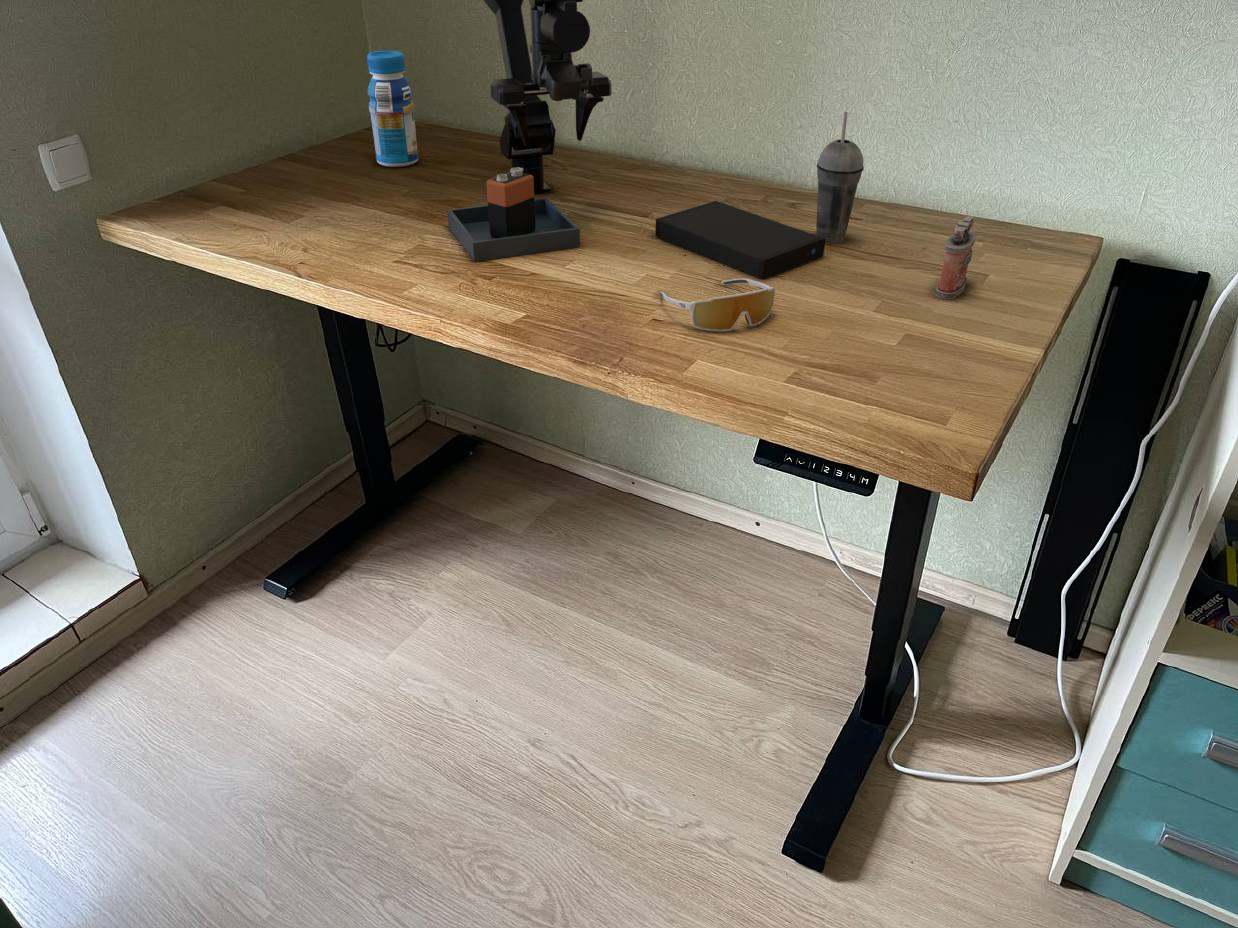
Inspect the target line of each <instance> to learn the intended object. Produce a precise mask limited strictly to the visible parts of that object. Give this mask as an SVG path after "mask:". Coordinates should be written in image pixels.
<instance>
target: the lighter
mask: <svg viewBox="0 0 1238 928" xmlns="http://www.w3.org/2000/svg"><path fill="white" fill-rule="evenodd" d="M974 222H975V218H974V216H971V215H967V216H966V217H965V218H964V219H963V220H958V221H957V224H956V226H955V228H954V233H952V234H951V235H950V236H949V237H948V238H947V240H946V242H945V247H944V250H945V253H944V257H943V264H942V268H941V273H940V278H939V282H938V283H937V286H936V290H935V296H936V297H938V298H941V299H946V300H952V299H955V298H956V297H957V296H959V295H960V294H962V293H963V291H964V289H965V288H966V283H967V278H968V277H967V273H968V269H969V268H968V267H969V264H970V262H971V261H972V256H973V246H975V243H976V240H977V239H976V238H977V233H976V232H975V231H972V230H971V229H972V228H973V227H974Z"/></svg>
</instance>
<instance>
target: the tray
mask: <svg viewBox="0 0 1238 928" xmlns="http://www.w3.org/2000/svg"><path fill="white" fill-rule="evenodd" d="M534 202H535V226H536V229H535V230H534V231H532V232H530V233H528V234H525V235H518V236H511V237H503V238H496V237H493V236H491V235H490V225H489V211H488V204H483V205H475V206H467V207H459V208H450V209H446V213H447V223H448V228H449V229H450V231H451V232H452V234H453V235H454V236H455V237H456V239H457V240H458V241H459V243H460V244H461V246H462V247H463V248H464V250H465V251H466V253H467V254H468V256H470V258H471V260H473V262H481V261H488V260H496V259H502V258H510V257H511V258H512V257H518V256H526V255H530V254H538V253H546V252H547V253H548V252H552V251H561V250H566V249H567V250H568V249H574V248H580V247H581V229H580V228H579V226H578V225H577V224H576V223H574V222H573V221H572V219H570V218H569V217H568V216H567V215H566V214H565V213H564V212H563V211H562V210H560V209H559V208H558V207H557V205H555V204H554V203H553V201H551V200H550V199H549V198H548V197H540V198H534Z"/></svg>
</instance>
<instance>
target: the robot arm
mask: <svg viewBox="0 0 1238 928" xmlns="http://www.w3.org/2000/svg"><path fill="white" fill-rule="evenodd" d="M583 1H584V0H528V3H529V5H530V9H529V10H530V30H531V31H530V33H531V35H530V36H531V45H529V44H528V39H527V34H526V33H527V32H526V28H525V23H524V22H525V21H524V15H523V10H522V6H523V3H524V0H483V2H484V3H485V5H486V6H487V7H488V8H489V10H491V12H492V13H493V14H494V15H495V21H496V25H497V32H498V37H499V43H500V48H501V54H502V60H503V65H504V66H503V67H504V70H505V78H498V79H493V80H492V82H491V84H490V98H491V99H492V100H493V101H495V102H496V103H497V104H499V105H500V106H503V107H504V108H505V109H506V112H505V115H504V125H503V128H502V132H501V135H500V139H499V147H500V148H499V149H500V152H501V155H503V156H504V157H505V158H506V159H507V160H508V161H509V160H511V168H517V167H519V168H523V172H522V173H525V174H530V175H532V176H533V178H534V193H541V192H549V191H550V192H551V186H549V185H548V184H547V183H546V182H545V177H544V176H545V175H544V156H553V155H554V151H555V140H556V132H557V129H556V127H555V124H554V122H553V120H552V119H551V116H550V107H549V103H548V102H547V101H546V100H542V99H541V98H540V97H539V96H542V95H548V96H549V98H550V99H551V100H552V101H553V102H561V101H563V100H564V101H565V100H573V101H575V133H576V139H577V141H582V140H583V137H584V134H585V131H586V128H587V125H588V122H589V119H590V117H591V115H592V112H593V111H594V110H593V109H594V108H595V107H596V106H597V105H598V104H599V103H603V102H604V100H605V97H611V96H612V82H611V79H610V78H609V77H608V76H607V75H605V74H603V73H602V72H600V71H593V67H592V65H591V63H589V62H588V63H587V62H586V63H578V64H574V62H573V59H572V58H573V57H572V55H573V54H572V53H576V52H579V51H580V50H583V48H584V47H585V46H586V44H587V43H588V41H589V39H590V37H591V27H590V23H589V20H588V19H587V17H586V16H585V15H584V14H583V13H582V12H581V11H579V10H578V3H583ZM530 53H531V56H532V57H530ZM531 59H532V62H531Z"/></svg>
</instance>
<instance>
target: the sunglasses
mask: <svg viewBox="0 0 1238 928" xmlns="http://www.w3.org/2000/svg"><path fill="white" fill-rule="evenodd" d="M739 284H740V285H742V284H743V285H744V284H746V285H750V286H752V287H757V288H762V289H758V290H753V291H748V292H743V293H736V294H731V295H722V296H713V297H710V298H709V299H700V300H693V301H692V302H691V301H685V300H680V299H676V298H673V297H671V296H668V295H667V294H666V293H665V292H663V291H660V293H659V295H660V297H661V298H663V299H664V300H665V301H666V302H668V303H672V304H674V305H676V306H677V307H679V309H681V310H688V311H690V321H691V325H692V326H693V328H696V329H699V330H703V331H708V332H730V331H732V330H733V329H734V328H735V327H736V325H737V324H738V322H739V320H740V319H741V317H742V316H744V319H745V321H746V323H747V325H749V326H750V327H755V326H757V325H759V324H762V323H763V322H764V321H765V320H767V318H769V316H770V315H771V312H772V309H773V307H774V302H775V296H776V289H775V287H774V286H770V285H768V284H765V283H763V282H760V281H756V280H753V279H751V278H733V279H727V280H722V281H721V285H723V286H730V285H739Z"/></svg>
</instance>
